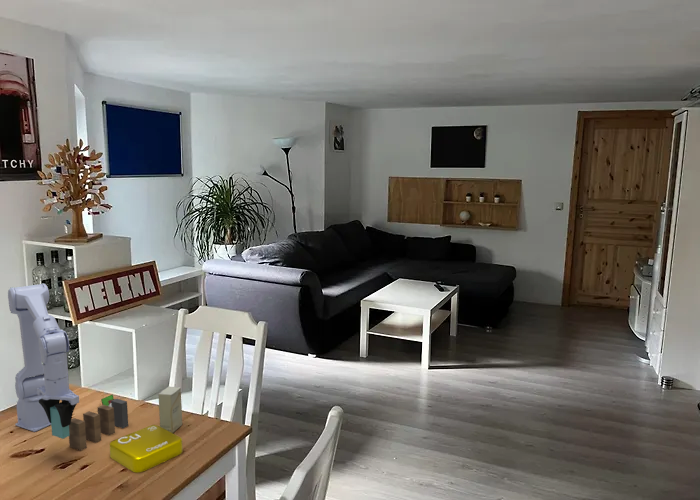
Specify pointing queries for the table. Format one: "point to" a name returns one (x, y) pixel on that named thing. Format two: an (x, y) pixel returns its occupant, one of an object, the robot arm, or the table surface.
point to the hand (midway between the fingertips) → (60, 423)
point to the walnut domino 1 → (77, 434)
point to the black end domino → (120, 413)
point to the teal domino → (58, 424)
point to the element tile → (145, 448)
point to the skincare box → (170, 408)
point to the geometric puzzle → (107, 400)
